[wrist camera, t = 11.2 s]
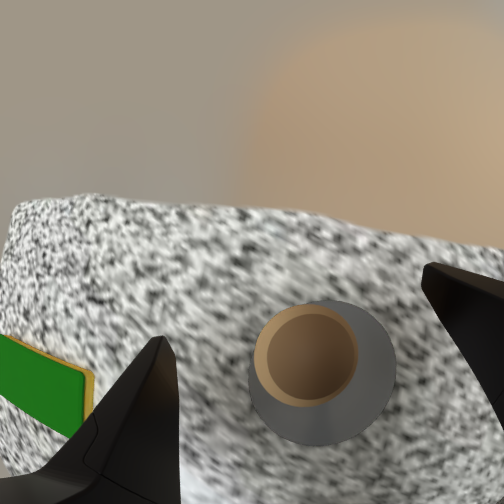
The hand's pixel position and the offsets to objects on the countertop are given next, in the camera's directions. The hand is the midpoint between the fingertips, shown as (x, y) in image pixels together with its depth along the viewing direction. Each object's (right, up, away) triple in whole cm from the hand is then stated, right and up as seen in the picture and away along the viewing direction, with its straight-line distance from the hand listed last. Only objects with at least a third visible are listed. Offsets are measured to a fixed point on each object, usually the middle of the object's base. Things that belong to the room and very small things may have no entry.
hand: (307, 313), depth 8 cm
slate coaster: (+4, -8, +11) cm, 14 cm away
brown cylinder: (+1, -6, +12) cm, 13 cm away
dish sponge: (-23, -12, +12) cm, 28 cm away
